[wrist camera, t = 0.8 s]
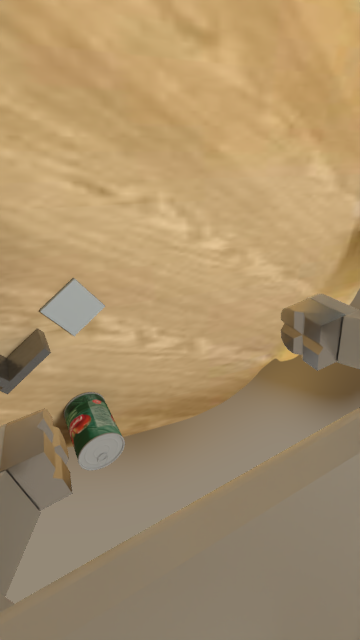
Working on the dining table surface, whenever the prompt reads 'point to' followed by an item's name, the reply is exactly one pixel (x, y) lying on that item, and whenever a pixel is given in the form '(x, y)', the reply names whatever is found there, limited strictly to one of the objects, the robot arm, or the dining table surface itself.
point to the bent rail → (22, 360)
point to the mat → (72, 307)
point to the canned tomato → (93, 431)
